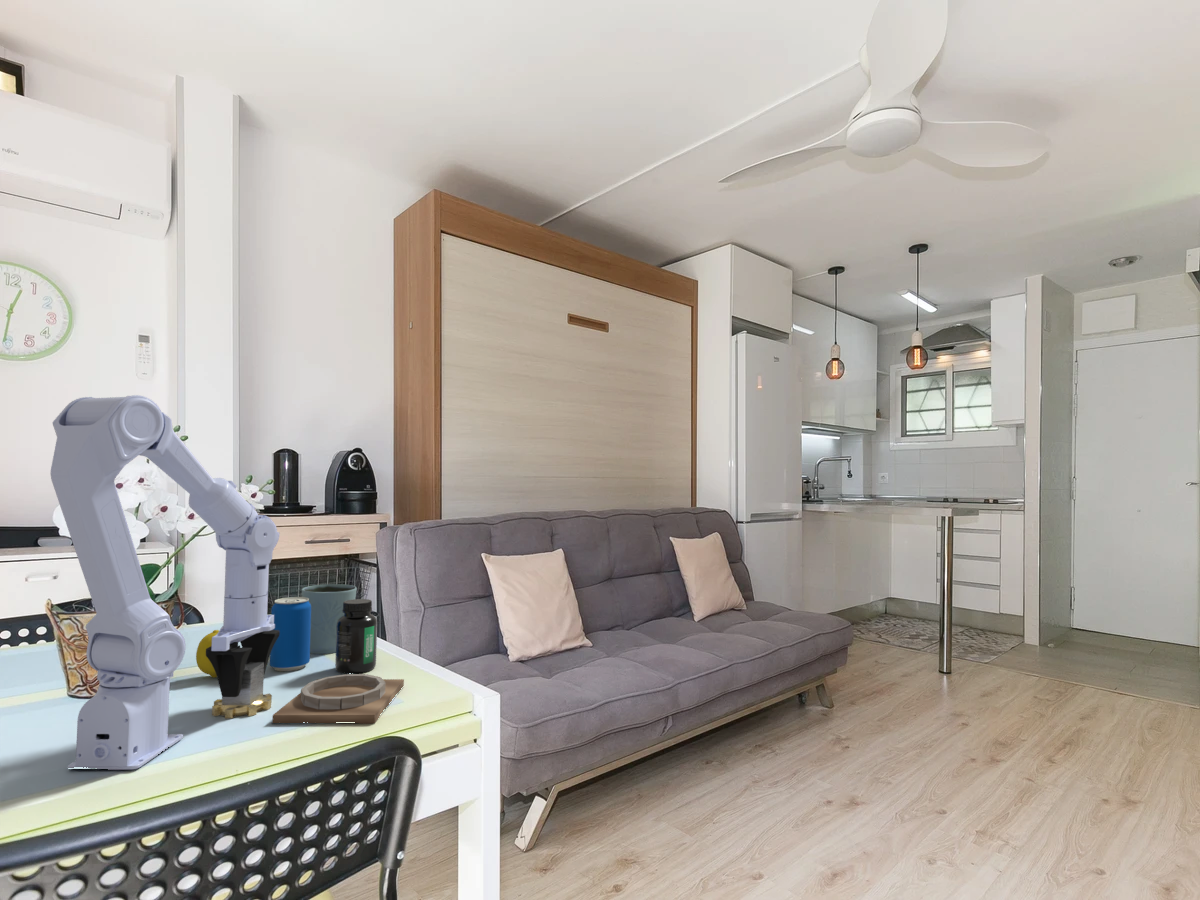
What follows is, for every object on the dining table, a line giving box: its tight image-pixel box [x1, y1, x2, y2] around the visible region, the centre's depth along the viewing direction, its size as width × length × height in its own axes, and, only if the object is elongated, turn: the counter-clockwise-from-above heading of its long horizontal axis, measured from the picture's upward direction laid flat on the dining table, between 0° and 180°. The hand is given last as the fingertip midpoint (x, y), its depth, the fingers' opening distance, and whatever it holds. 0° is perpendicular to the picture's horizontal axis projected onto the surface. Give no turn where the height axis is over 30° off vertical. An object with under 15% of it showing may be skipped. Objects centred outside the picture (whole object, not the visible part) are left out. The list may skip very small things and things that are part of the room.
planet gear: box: [211, 662, 273, 719], centre depth 97 cm, size 8×8×6 cm
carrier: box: [271, 673, 405, 725], centre depth 99 cm, size 16×14×3 cm
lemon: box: [195, 629, 220, 678], centre depth 111 cm, size 6×6×8 cm
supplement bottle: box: [334, 598, 378, 675], centre depth 117 cm, size 7×7×12 cm
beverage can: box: [269, 596, 311, 672], centre depth 118 cm, size 6×6×12 cm
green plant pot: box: [301, 583, 357, 655], centre depth 131 cm, size 10×10×12 cm
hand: (243, 687), depth 97 cm, fingers open, 7 cm apart
